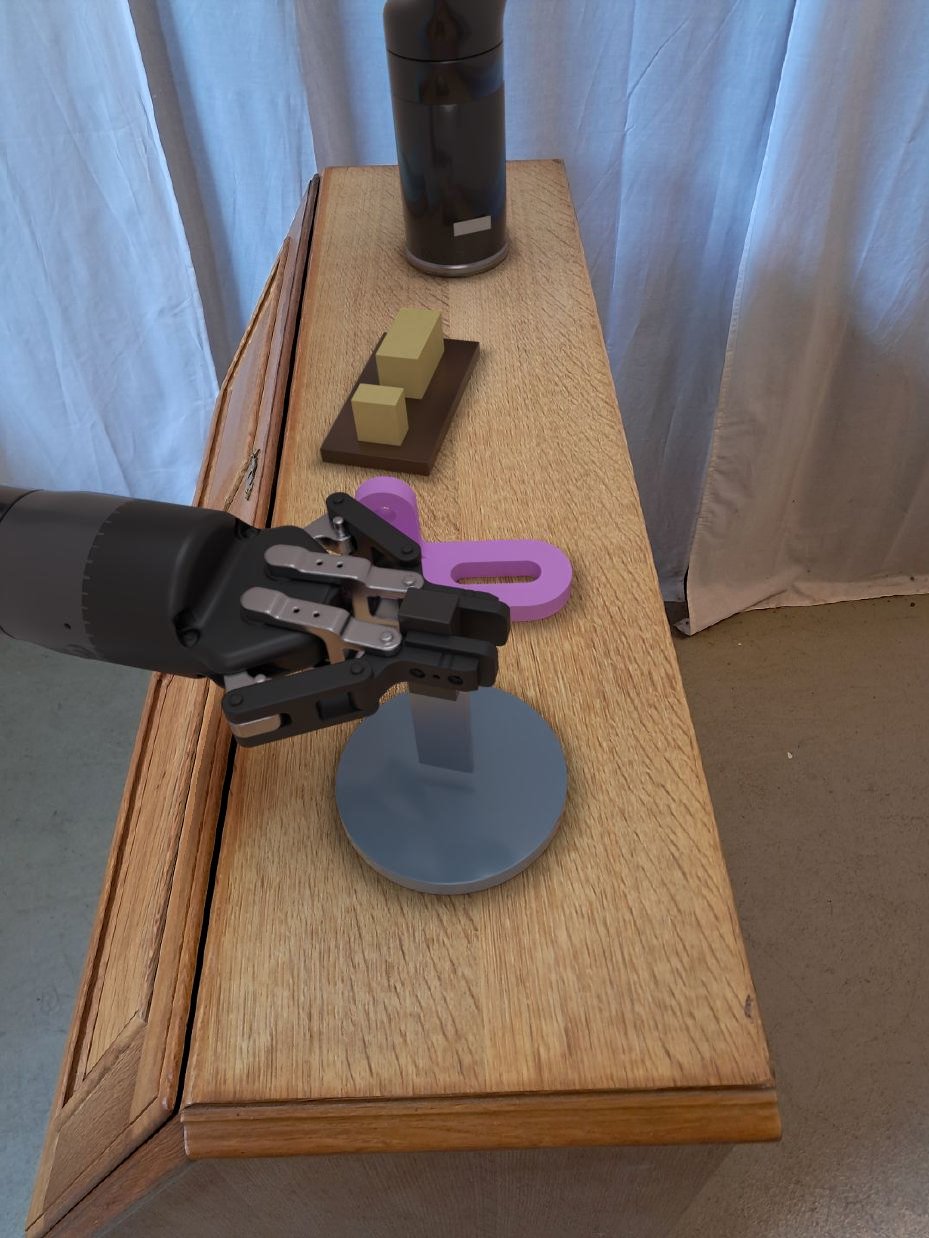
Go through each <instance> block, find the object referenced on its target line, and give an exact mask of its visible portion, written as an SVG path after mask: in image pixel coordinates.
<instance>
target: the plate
mask: <svg viewBox="0 0 929 1238" xmlns="http://www.w3.org/2000/svg"><path fill="white" fill-rule="evenodd" d="M469 703H470V717H471V731H472V746H473V760H474V770H473V773H472V774H470V773H466V772H461V771H456V770H451V769H446V768H441V767H436V766H431V765H426V764H421V763H419V757H418V751H417V744H416V738H415V732H414V725H413V719H412V712H411V706H410V699H409V693H408V690H406V691H403V692H401V693H398V694H397V695H395V696H393V697H391V698H390V699H387V700H386V701H384V702H383V703H382V704H380V706H379V709H378V711H377V712H376V713H375V714H373V715H371V716H369V717H365V718H363V720H362V721H361V722H360V723H359V725H358V726H357V727H356V728H355V729H354V731H353V732H352V734H351V735H350V737H349V739H348V740H347V742H346V743H345V746H344V748H343V750H342V752H341V755H340V758H339V761H338V764H337V769H336V775H335V789H334V791H335V800H336V807H337V810H338V814H339V818H340V820H341V824H342V827H343V829H344V832H345V834H346V837H347V838H348V840H349V842H350V844H351V845H352V847H353V848H354V850H355V851H356V853H357V854H358V855H359V856H360V858H361V859H362V860H363V861H364V862H365V863H366V864H367V865H368V866H369V867H370V868H371V869H372V870H374V871H375V872H377V873H378V874H379V875H381V877H384V878H385V879H387V880H389V881H391V883H392V882H393V883H395V884H397V885H399V886H401V887H404V888H406V889H411V890H413V891H415V892H416V891H417V892H420V893H427V894H430V895H431V894H432V895H443V896H445V895H447V896H454V895H465V894H472V893H477V892H481V891H485V890H488V889H490V888H493V887H496V886H499V885H502V884H503V883H505V882H507V881H508V880H511V879H513V878H515V877H516V876H518V875H519V874H520V873H522V872H523V871H525V870H526V869H528V868H529V867H530V866H532V864H534V862H535V861H536V860H538V859H539V858H540V857H541V856H542V854H543V853H544V852H545V851H546V849H547V848H548V847H549V846H550V844H551V842H552V841H553V839H554V838H555V835H557V833H558V830H559V827H560V826H561V823H562V820H563V817H564V814H565V810H566V806H567V805H566V804H567V798H568V786H569V785H568V783H569V782H568V767H567V761H566V756H565V754H564V751H563V748H562V745H561V743H560V740H559V739H558V737H557V735H556V733H555V732H554V730H553V729H552V727H551V725H550V724H549V723H548V721H546V719H545V718H544V717H543V716H542V714H540V713H539V712H538V711H537V710H536V709H534V708H533V707H532V706H531V705H530V704H528V703H527V702H526V701H524V700H523V699H521V698H520V697H518V696H516V695H514V694H512V693H510V692H508V691H506V690H503V689H500V688H497V687H495V686H491V687H481V686H479V688H478V690H477V691H469Z"/></svg>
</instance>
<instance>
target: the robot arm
mask: <svg viewBox="0 0 929 1238" xmlns="http://www.w3.org/2000/svg"><path fill="white" fill-rule="evenodd" d="M507 2H508V0H386V2H385V3H384V6H383V9H382V26H383V28H382V29H383V35H384V44H385V54H386V61H387V62H386V63H387V64H386V65H387V74H388V83H389V91H390V100H391V109H392V111H391V112H392V119H393V121H392V122H393V130H394V138H395V146H396V147H395V149H396V158H397V168H398V178H399V187H400V196H401V197H400V198H401V207H402V215H403V217H402V219H403V227H404V236H405V238H404V247H405V255H406V259H407V261H408V262H409V263H410V265H412V266H413V267H414V268H416V269H418V270H420V272H424V273H426V274H431V275H435V276H440V277H441V276H442V277H462V276H470V275H475V274H479V273H482V272H484V271H485V272H486V271H487V270H490V269H491V268H493V267H496V266H497V265H499V264H500V263H501V262H502V261H503V260H504V259H505V258H506V256H507V255H508V252H509V235H508V217H507V216H508V215H507V214H508V210H507V208H508V197H507V193H508V191H507V141H506V139H507V137H506V135H507V134H506V85H505V84H506V81H505V38H504V36H505V35H504V34H505V32H504V31H505V30H504V28H505V27H504V26H505V24H504V22H505V21H504V20H505V12H506V6H507ZM324 502H325V507H326V512H325V513H324V514H323V515H321V516H319V517H318V518H316V519H315V520H313V521H312V522H310V523H309V524H308V525H306V526H304V527H300V526H298V525H292V524H285V525H280V526H276V527H275V526H274V527H269V528H268V527H267V528H259V527H256V526H253V525H251V524H249V523H248V522H246V521H244V520H242V519H240V518H239V517H238V516H236V515H234V514H232V513H230V512H228V511H224V510H219V509H213V508H207V507H200V506H194V505H193V506H192V505H186V504H179V503H173V502H165V501H159V500H152V499H145V498H139V497H134V496H133V497H132V496H125V495H120V494H112V493H107V492H98V491H89V490H49V489H43V488H36V487H30V486H22V485H17V484H11V483H3V482H0V637H3V638H7V639H11V640H12V639H13V640H18V641H24V642H27V643H32V644H34V645H37V646H40V647H42V648H45V649H48V650H50V651H54V652H56V653H60V654H64V655H68V656H72V657H77V658H81V659H86V660H92V661H93V660H94V661H98V662H103V663H109V664H114V665H119V666H125V667H130V668H136V669H140V670H146V671H151V672H156V673H162V674H167V675H172V676H177V677H182V678H187V679H192V680H203V679H207V678H208V679H209V680H211V681H212V682H213V684H215V685H216V686H217V687H219V688H221V689H223V690H225V693H224V695H223V696H222V698H221V699H220V707H221V709H222V712H223V714H224V716H225V719H226V721H227V723H228V725H229V727H230V731H231V732H232V734H233V737H234V739H235V741H236V743H237V745H238V746H240V747H241V748H245V749H251V748H255V747H260V746H262V745H266V744H271V743H274V742H279V741H282V740H286V739H289V738H293V737H297V736H300V735H304V734H308V733H311V732H312V733H313V732H315V731H320V730H323V729H326V728H330V727H335V726H339V725H341V724H346V723H349V722H354V721H357V720H361V719H365V718H366V717H369V716H371V715H373V714H375V713H376V712H377V711H378V709H379V706H380V705H381V702H380V700H381V699H382V698H383V697H384V696H385V694H387V692H388V691H389V690H390V689H391V688H392V687H393V686H397V685H399V684H401V683H407V682H412V683H418V684H423V685H429V686H434V687H442V688H445V689H452V690H456V691H461V692H469V691H477V690H478V688H479V686H481V687H491V686H492V687H494V685H495V684H496V681H497V677H498V674H499V670H500V666H499V664H500V663H499V662H500V661H499V648H498V647H503V646H505V645H507V643H508V640H509V636H510V633H511V622H510V608H509V606H508V605H507V604H506V603H504V602H502V601H499V598H498V597H496V596H494V595H492V594H491V593H489V592H482V591H474V590H470V589H467V590H465V589H464V588H457V587H451V586H445V585H438V584H433V583H431V582H429V581H427V580H426V579H425V578H424V576H423V568H422V560H421V559H422V552H421V547H420V545H419V544H418V543H416V542H415V541H414V540H412V539H411V538H409V537H408V536H407V535H405V534H404V533H402V532H401V531H400V530H398V529H397V528H395V527H394V526H392V525H391V524H390V523H388V522H387V521H385V520H384V519H383V518H381V517H380V516H378V515H377V514H375V513H374V512H373V511H371V510H370V509H368V508H367V507H366V506H364V505H363V504H361V503H360V502H359V501H357V500H356V499H355V497H353V496H351V495H350V494H349V493H347V492H345V491H337V492H332V493H331V494H329V495H328V496H327V497H325V501H324ZM329 551H330V552H333V553H335V554H332V553H330V552H329ZM351 556H352V557H351ZM408 587H414V588H420V589H426V590H432V591H438V592H444V593H451V594H457V595H459V599H460V613H461V627H462V637H460V636H454V635H444V634H438V633H432V632H426V631H420V630H414V629H409V630H408V633H407V635H406V637H404V636H402V635H401V633H400V629H398V628H399V622H398V616H397V614H398V612H399V609H400V607H401V604H402V602H403V599H404V596H405V594H406V591H407V589H408ZM381 596H384V597H392V598H397V599H390V598H383V597H381Z"/></svg>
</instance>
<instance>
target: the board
mask: <svg viewBox="0 0 929 1238" xmlns="http://www.w3.org/2000/svg"><path fill="white" fill-rule="evenodd" d="M387 333H388V331H383V333H382V335H381V337H380V339H379V340H378V342H377V344H376V346H375V347H374V349H373V350H372V352H371V354H370V356H369V359H368V360H367V362H366V364H365V365H364V368H363V369H362V371H361V373H360V375H359V377H358V378H357V380H356V381H355V384H354V386H353V388H352V389H351V391H350V392H349V395H348V397H347V398H346V400H345V402H344V404H343V406H342V407H341V409H340V411H339V412H338V414H337V417H336V418H335V420H334V422H333V424H332V426H331V428H330V430H329V431H328V433H327V435H326V437H325V438H324V439H323V442H322V443H321V446H320V448H319V452H320V456H321V457H320V458H321V461H322V462H323V463H330V464H337V465H344V466H353V467H359V468H360V467H361V468H367V469H375V470H381V471H382V470H383V471H390V472H395V473H405V474H413V475H421V476H427V477H428V476H430V474H431V471H432V469H433V467H434V465H435V462H436V459H437V457H438V456H439V453H440V450H441V448H442V446H443V443H444V441H445V439H446V436H447V434H448V431H449V429H450V426H451V424H452V422H453V419H454V417H455V415H456V412H457V410H458V407H459V405H460V403H461V400H462V399H463V396H464V393H465V391H466V389H467V386H468V383H469V381H470V379H471V377H472V375H473V371H474V369H475V368H476V365H477V363H478V360H479V358H480V355H481V348H480V345H481V344H480V341H477V340H466V339H455V338H447V337H443V339H444V353H443V355H442V357H441V359H440V361H439V363H438V366H437V368H436V370H435V372H434V374H433V376H432V378H431V381H430V383H429V385H428V387H427V389H426V391H425V393H424V396H423V398H422V399H414V398H405V403H406V411H407V420H408V428H409V429H408V431H407V433H406V435H405V438H404V440H403V442H402V444H401V446H397V445H389V444H381V443H373V442H365V441H358V437H357V431H356V425H355V420H354V414H353V408H352V403H351V400H352V398H353V396H354V394H355V392H356V390H357V389H358V387H359V385H360V384H370V385H379V386H380V382H379V376H378V369H377V362H376V353H377V351H378V349H379V347H380V345H381V344H382V342H383V340H384V338H385V336H386V334H387Z"/></svg>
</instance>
